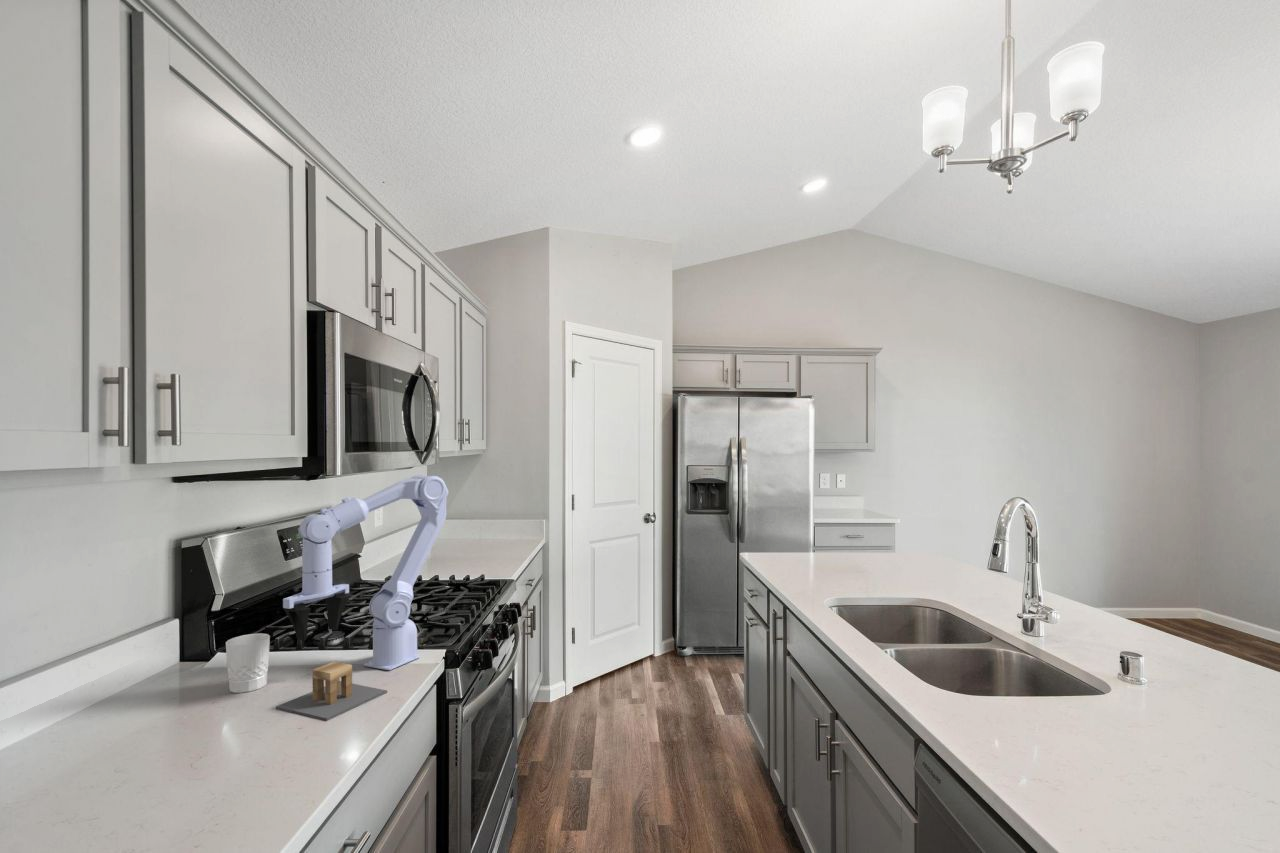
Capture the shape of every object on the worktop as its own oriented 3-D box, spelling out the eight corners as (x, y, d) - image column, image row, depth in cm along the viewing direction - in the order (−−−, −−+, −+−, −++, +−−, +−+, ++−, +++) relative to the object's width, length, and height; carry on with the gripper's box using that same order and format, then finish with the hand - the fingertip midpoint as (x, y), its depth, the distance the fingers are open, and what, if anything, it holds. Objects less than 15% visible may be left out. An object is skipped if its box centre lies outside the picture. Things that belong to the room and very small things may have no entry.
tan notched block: (352, 695, 126) (352, 664, 126) (330, 704, 121) (330, 673, 122) (334, 691, 128) (334, 661, 128) (312, 700, 124) (312, 669, 124)
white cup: (278, 680, 136) (278, 633, 136) (252, 694, 128) (252, 645, 129) (244, 679, 137) (244, 633, 137) (216, 694, 129) (216, 644, 129)
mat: (338, 682, 134) (338, 680, 134) (387, 692, 128) (387, 690, 128) (276, 708, 121) (276, 706, 121) (326, 720, 115) (326, 718, 115)
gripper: (333, 563, 144) (334, 623, 144) (273, 576, 131) (273, 642, 131) (355, 565, 141) (356, 626, 141) (296, 578, 128) (296, 646, 128)
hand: (317, 634), depth 135 cm, fingers open, 7 cm apart
